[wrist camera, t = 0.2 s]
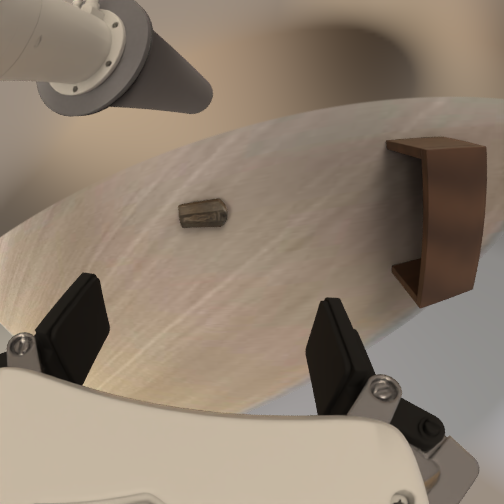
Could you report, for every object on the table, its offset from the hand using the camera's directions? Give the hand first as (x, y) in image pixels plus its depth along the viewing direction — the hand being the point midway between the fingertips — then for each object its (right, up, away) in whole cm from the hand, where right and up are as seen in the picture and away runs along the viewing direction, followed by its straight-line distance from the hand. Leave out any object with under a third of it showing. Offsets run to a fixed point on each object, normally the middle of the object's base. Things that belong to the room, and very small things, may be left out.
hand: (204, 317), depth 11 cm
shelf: (+26, +9, +24) cm, 37 cm away
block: (-4, +8, +24) cm, 26 cm away
